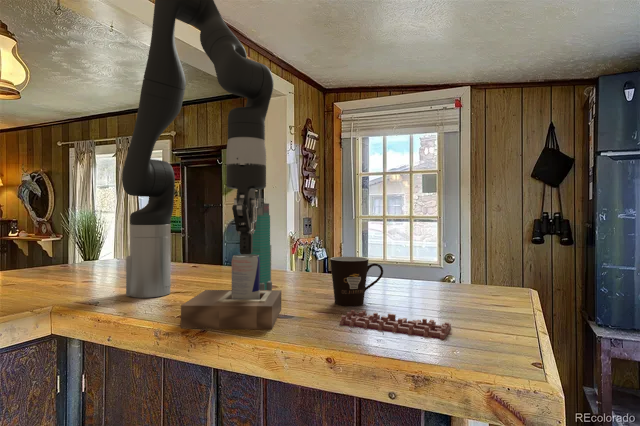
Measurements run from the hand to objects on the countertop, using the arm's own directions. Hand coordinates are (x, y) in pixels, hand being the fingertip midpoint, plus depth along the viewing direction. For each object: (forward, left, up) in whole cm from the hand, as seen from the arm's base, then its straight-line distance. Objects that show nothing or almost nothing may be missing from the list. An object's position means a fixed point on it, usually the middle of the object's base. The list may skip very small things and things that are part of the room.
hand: (246, 253), depth 77 cm
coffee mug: (+22, +13, -13) cm, 28 cm away
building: (-1, +21, -13) cm, 24 cm away
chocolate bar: (+28, -5, -13) cm, 31 cm away
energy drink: (0, 0, -13) cm, 13 cm away
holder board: (-2, 0, -12) cm, 13 cm away
